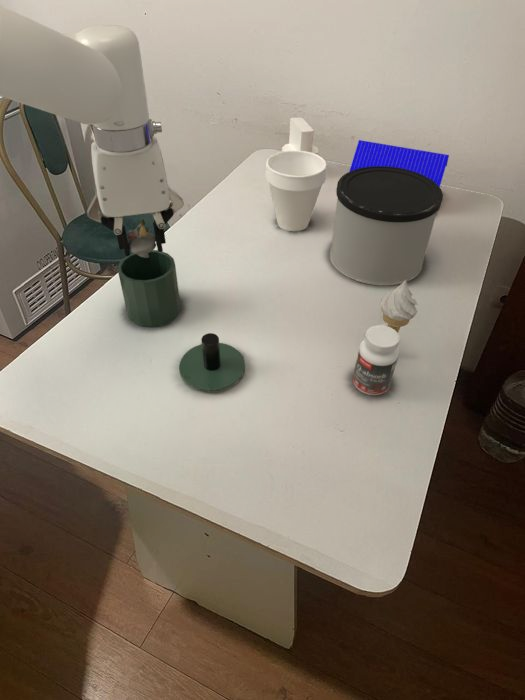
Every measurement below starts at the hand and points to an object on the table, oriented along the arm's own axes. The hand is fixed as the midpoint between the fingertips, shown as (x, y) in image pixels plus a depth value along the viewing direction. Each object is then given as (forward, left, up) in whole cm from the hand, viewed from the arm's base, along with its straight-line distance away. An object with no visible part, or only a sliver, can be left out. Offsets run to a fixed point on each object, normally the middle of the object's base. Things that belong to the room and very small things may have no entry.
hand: (143, 248), depth 82 cm
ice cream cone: (+35, -21, -13) cm, 43 cm away
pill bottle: (+30, -26, -13) cm, 42 cm away
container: (+45, +5, -13) cm, 47 cm away
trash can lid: (+7, -17, -12) cm, 22 cm away
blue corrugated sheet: (+60, +28, -13) cm, 67 cm away
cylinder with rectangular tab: (+42, +45, -13) cm, 63 cm away
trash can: (0, 0, -13) cm, 13 cm away
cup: (+33, +22, -13) cm, 42 cm away
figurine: (0, 0, -1) cm, 1 cm away
